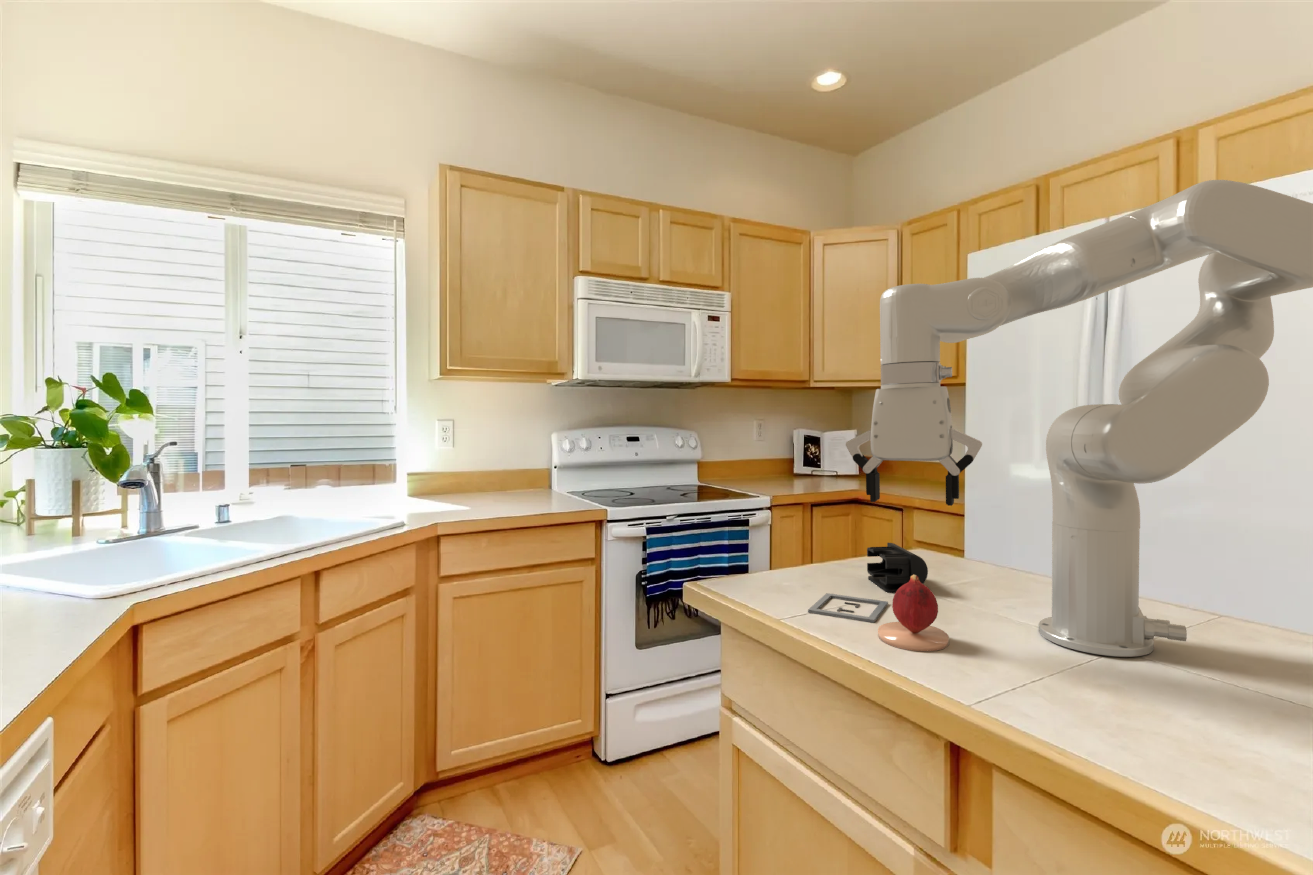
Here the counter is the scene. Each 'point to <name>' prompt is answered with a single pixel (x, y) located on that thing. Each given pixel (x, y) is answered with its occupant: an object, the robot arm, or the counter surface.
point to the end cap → (895, 567)
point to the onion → (915, 605)
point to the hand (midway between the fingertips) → (911, 502)
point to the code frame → (871, 618)
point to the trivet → (913, 637)
